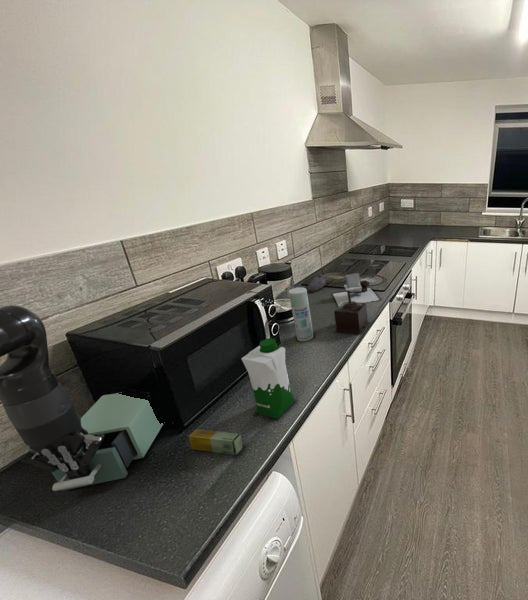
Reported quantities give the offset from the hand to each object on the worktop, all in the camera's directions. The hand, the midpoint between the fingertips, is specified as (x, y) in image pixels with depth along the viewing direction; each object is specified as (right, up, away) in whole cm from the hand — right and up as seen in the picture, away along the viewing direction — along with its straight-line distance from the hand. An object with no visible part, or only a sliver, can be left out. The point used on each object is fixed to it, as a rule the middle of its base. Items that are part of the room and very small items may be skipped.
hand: (82, 479), depth 65 cm
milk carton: (+30, +6, +25) cm, 39 cm away
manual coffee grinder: (+46, +26, +71) cm, 88 cm away
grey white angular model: (+42, +38, +100) cm, 115 cm away
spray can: (+27, +22, +62) cm, 71 cm away
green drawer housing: (-4, +1, +15) cm, 16 cm away
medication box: (+21, +1, +12) cm, 24 cm away
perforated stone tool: (+19, +42, +113) cm, 122 cm away
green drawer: (-1, -1, +7) cm, 7 cm away
